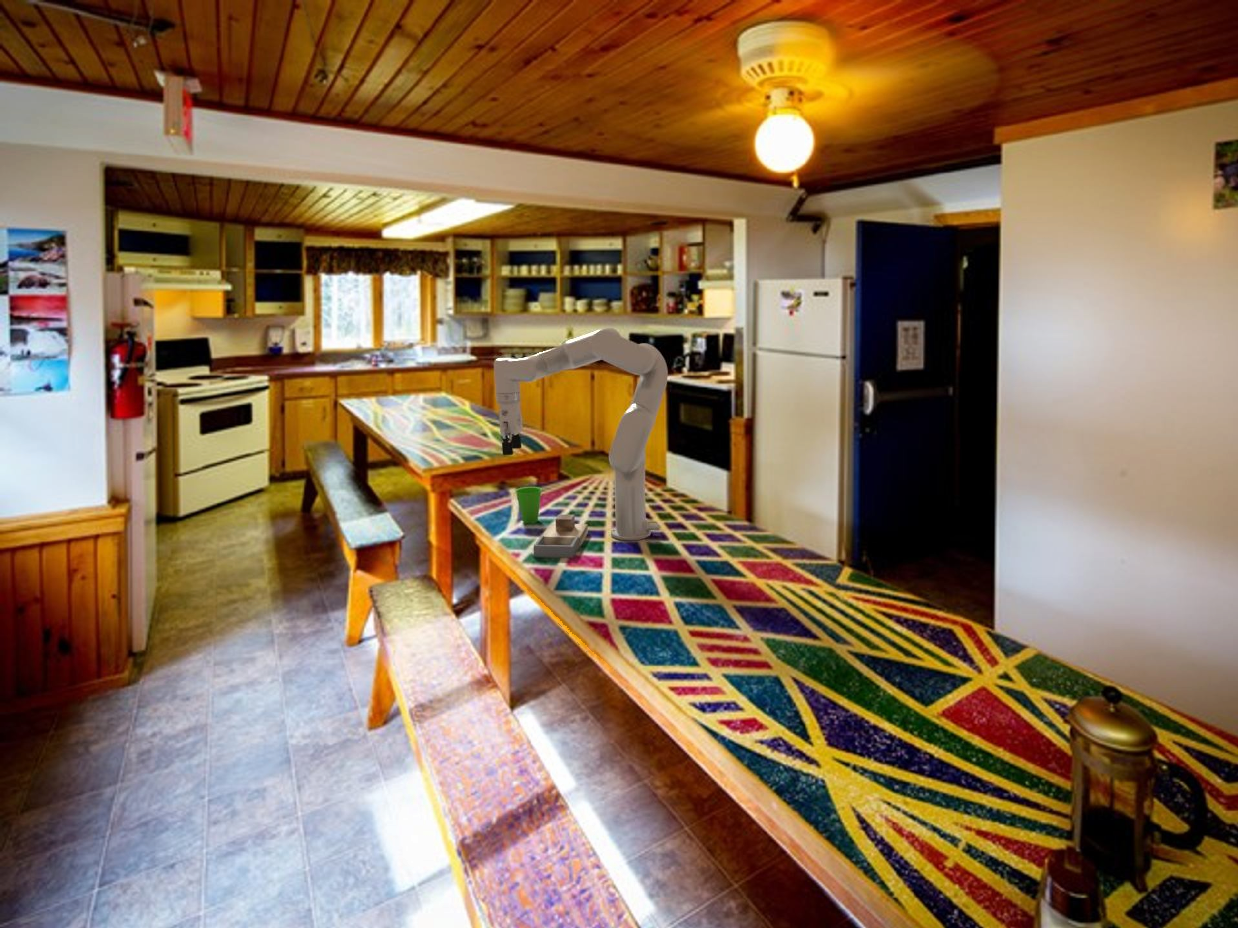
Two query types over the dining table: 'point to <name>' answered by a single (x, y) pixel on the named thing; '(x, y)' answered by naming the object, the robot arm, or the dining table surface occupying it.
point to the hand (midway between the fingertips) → (512, 451)
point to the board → (565, 535)
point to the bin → (555, 549)
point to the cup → (529, 503)
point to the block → (565, 523)
